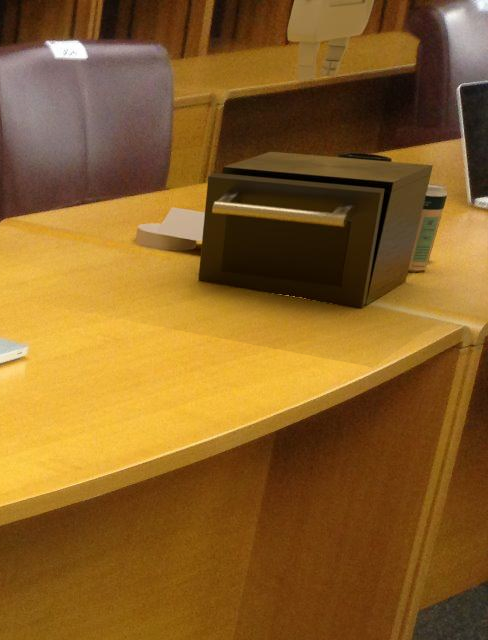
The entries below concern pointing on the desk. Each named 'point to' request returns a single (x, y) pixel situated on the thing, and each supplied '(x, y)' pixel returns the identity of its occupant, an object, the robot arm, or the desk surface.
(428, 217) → the pink and green canister
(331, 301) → the oven door
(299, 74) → the robot arm
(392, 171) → the oven
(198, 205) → the desk surface
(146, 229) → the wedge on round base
